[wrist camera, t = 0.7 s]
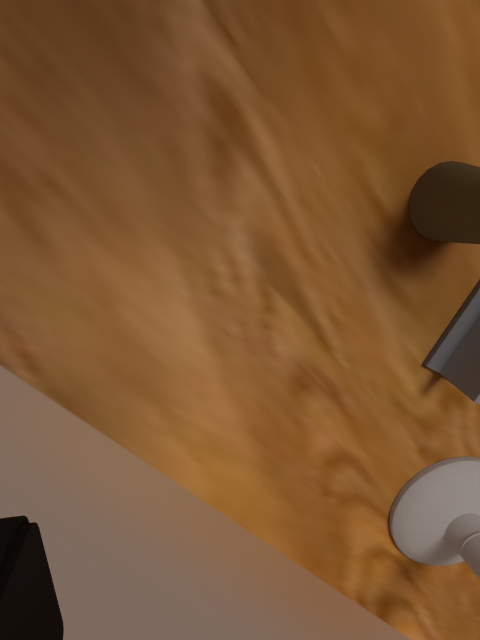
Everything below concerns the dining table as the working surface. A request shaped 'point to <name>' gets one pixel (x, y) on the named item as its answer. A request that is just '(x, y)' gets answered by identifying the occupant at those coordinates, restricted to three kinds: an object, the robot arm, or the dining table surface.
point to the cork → (447, 203)
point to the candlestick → (440, 514)
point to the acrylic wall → (461, 349)
